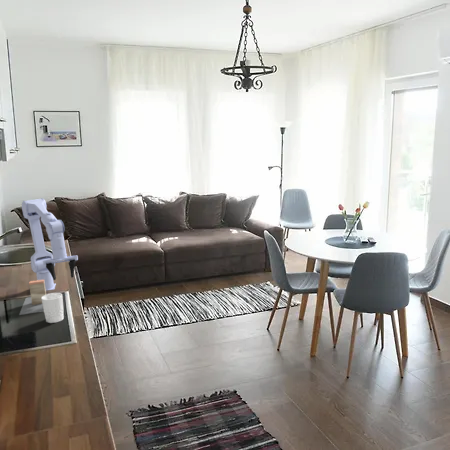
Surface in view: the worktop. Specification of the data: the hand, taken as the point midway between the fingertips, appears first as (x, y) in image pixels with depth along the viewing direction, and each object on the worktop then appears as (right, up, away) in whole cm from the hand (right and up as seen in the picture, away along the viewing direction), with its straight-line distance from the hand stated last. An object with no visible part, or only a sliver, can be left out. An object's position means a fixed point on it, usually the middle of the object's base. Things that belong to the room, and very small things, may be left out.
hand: (63, 278), depth 205 cm
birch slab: (-11, -11, +1) cm, 16 cm away
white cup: (+3, -15, -18) cm, 24 cm away
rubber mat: (-11, -12, 0) cm, 16 cm away
